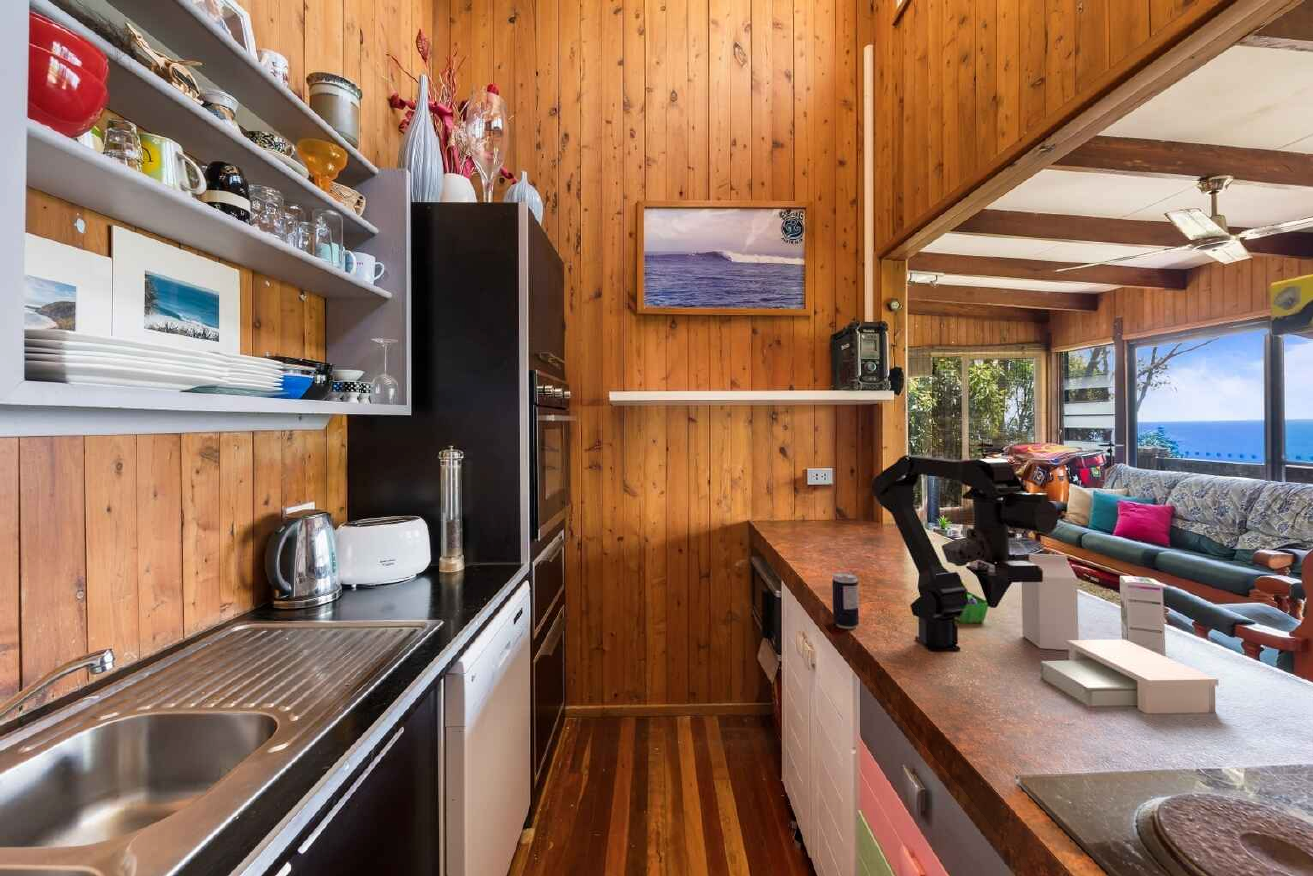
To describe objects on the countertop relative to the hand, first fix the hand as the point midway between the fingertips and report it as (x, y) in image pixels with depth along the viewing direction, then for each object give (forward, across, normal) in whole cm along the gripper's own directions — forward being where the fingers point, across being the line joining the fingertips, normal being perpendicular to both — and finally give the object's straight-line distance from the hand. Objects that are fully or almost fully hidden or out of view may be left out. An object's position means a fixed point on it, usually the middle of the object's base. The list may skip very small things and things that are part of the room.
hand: (992, 607), depth 96 cm
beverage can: (+12, -24, -19) cm, 33 cm away
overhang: (+12, +8, +19) cm, 24 cm away
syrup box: (+12, -8, +36) cm, 39 cm away
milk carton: (+12, -12, +20) cm, 26 cm away
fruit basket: (+12, -29, +11) cm, 33 cm away
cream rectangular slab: (+12, +8, +15) cm, 21 cm away
